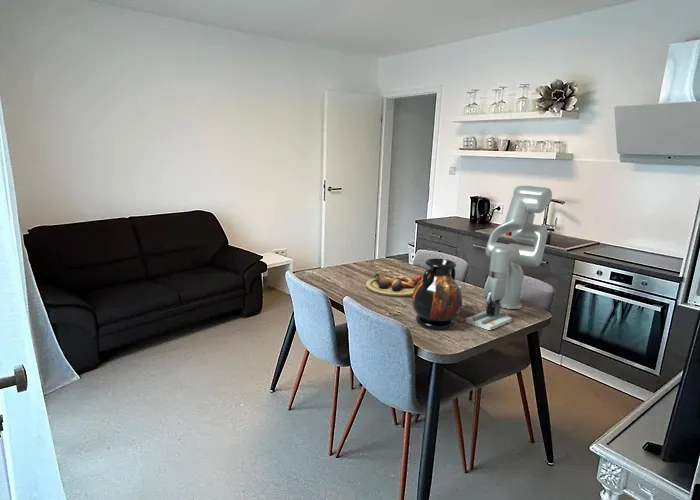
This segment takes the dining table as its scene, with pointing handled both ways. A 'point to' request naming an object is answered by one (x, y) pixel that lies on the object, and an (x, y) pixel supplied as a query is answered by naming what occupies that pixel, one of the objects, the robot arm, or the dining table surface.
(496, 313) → the fader knob
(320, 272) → the dining table surface
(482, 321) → the fader console
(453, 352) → the dining table surface
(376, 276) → the wooden plate with food
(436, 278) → the amphora vase
